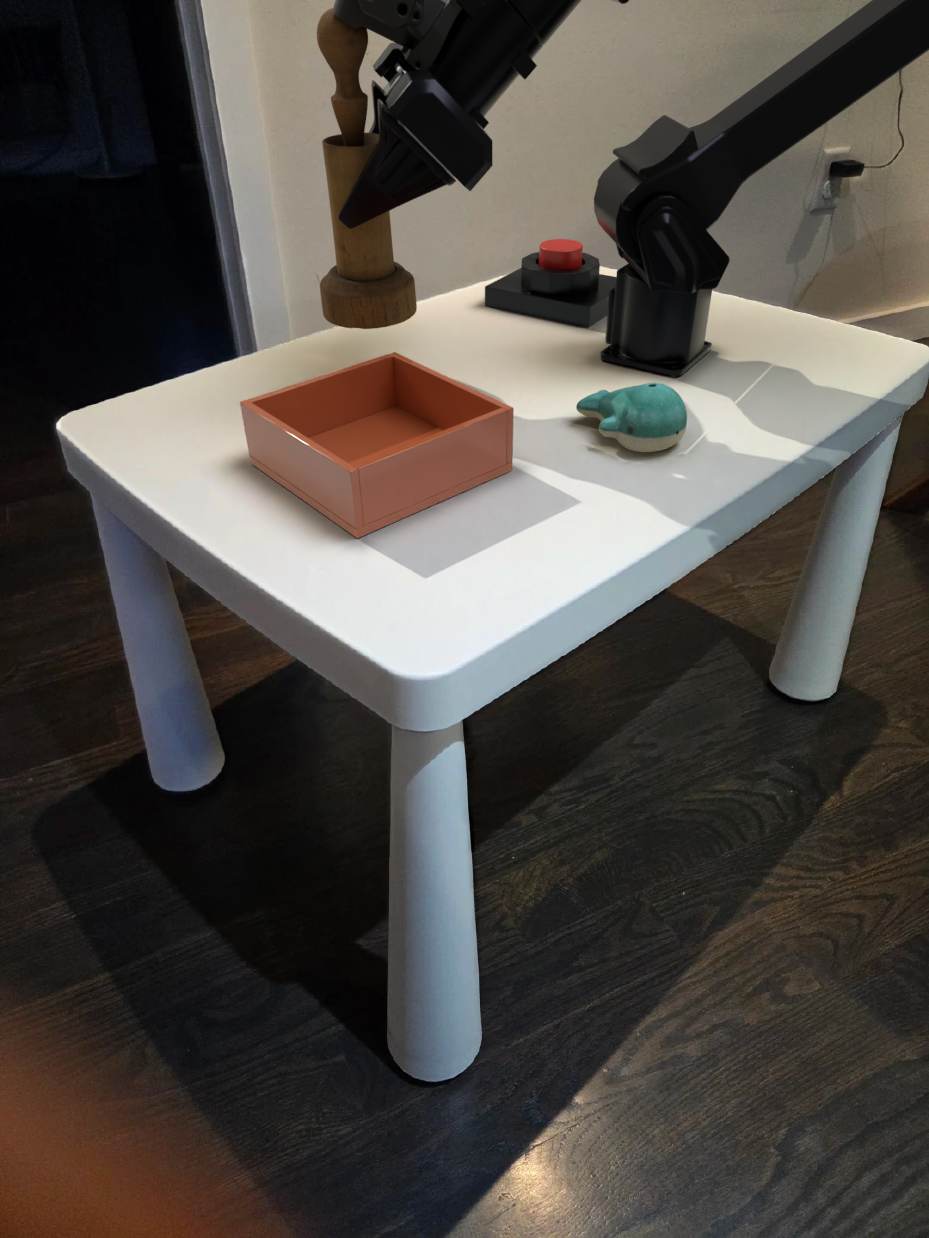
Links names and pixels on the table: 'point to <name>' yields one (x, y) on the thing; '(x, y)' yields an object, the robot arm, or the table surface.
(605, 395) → the whale figurine
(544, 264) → the button
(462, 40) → the robot arm
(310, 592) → the table surface
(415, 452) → the orange square tray
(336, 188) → the mortar and pestle
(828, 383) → the table surface
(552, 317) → the control block
